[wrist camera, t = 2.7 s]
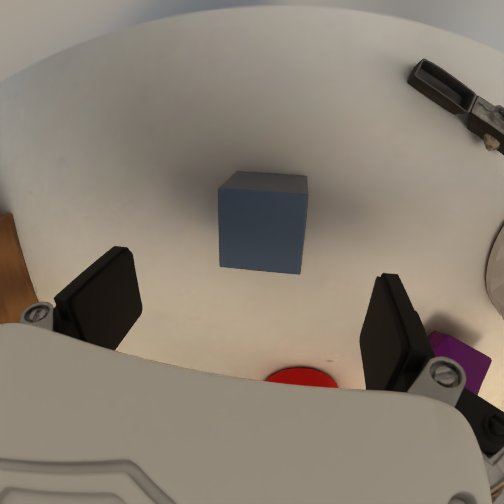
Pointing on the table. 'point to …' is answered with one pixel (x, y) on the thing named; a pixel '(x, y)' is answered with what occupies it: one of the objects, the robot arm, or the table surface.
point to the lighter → (460, 102)
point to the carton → (13, 274)
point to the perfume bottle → (462, 358)
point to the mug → (496, 274)
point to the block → (262, 221)
